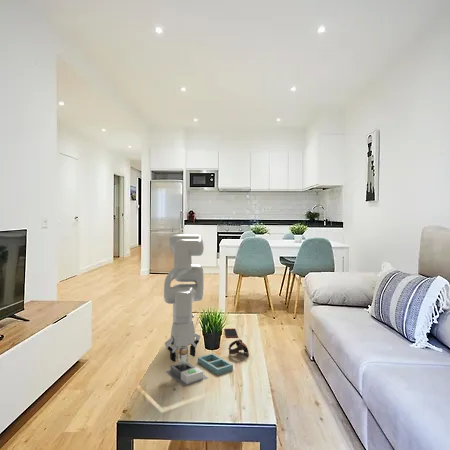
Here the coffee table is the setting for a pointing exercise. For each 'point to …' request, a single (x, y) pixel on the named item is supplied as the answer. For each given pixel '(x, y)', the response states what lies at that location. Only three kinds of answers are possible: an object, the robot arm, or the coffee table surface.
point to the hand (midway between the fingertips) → (183, 358)
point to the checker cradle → (186, 374)
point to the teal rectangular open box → (215, 364)
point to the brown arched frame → (238, 347)
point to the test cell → (182, 358)
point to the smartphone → (230, 333)
